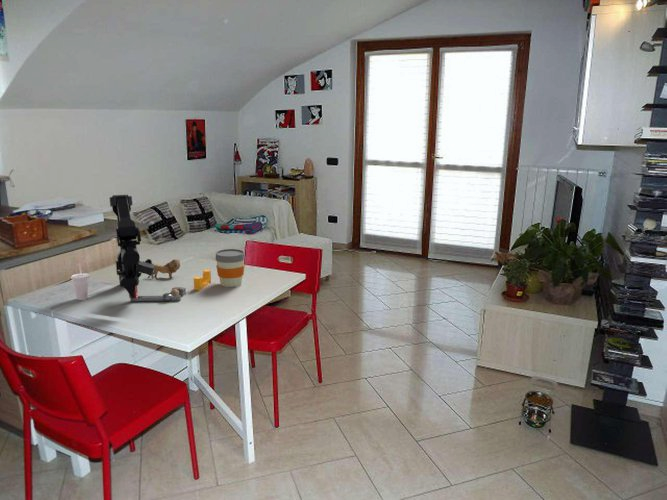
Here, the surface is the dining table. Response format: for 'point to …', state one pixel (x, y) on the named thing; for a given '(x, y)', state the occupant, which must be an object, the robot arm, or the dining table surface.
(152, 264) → the robot arm
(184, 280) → the dining table surface
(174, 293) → the tan rounded piece
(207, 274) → the pipe clamp
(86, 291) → the smoothie
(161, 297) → the lever
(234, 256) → the reusable coffee cup
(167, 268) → the lion figurine
